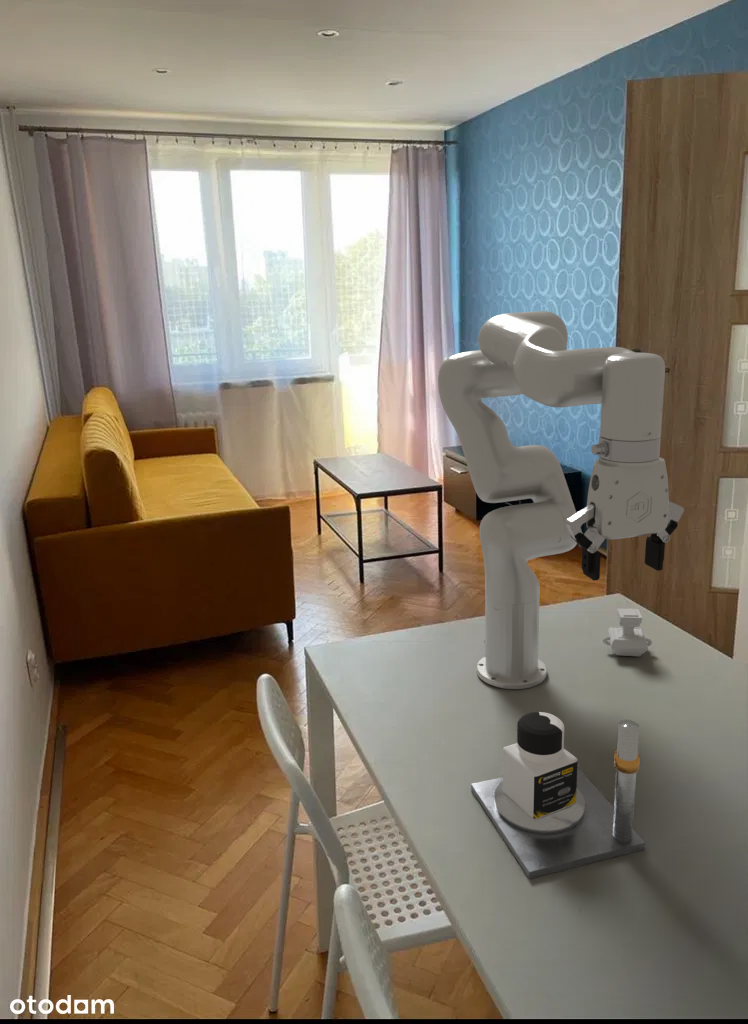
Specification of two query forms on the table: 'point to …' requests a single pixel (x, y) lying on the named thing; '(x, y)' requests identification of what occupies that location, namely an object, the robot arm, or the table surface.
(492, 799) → the base plate with post
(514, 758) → the medicine bottle
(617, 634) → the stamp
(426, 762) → the table surface
